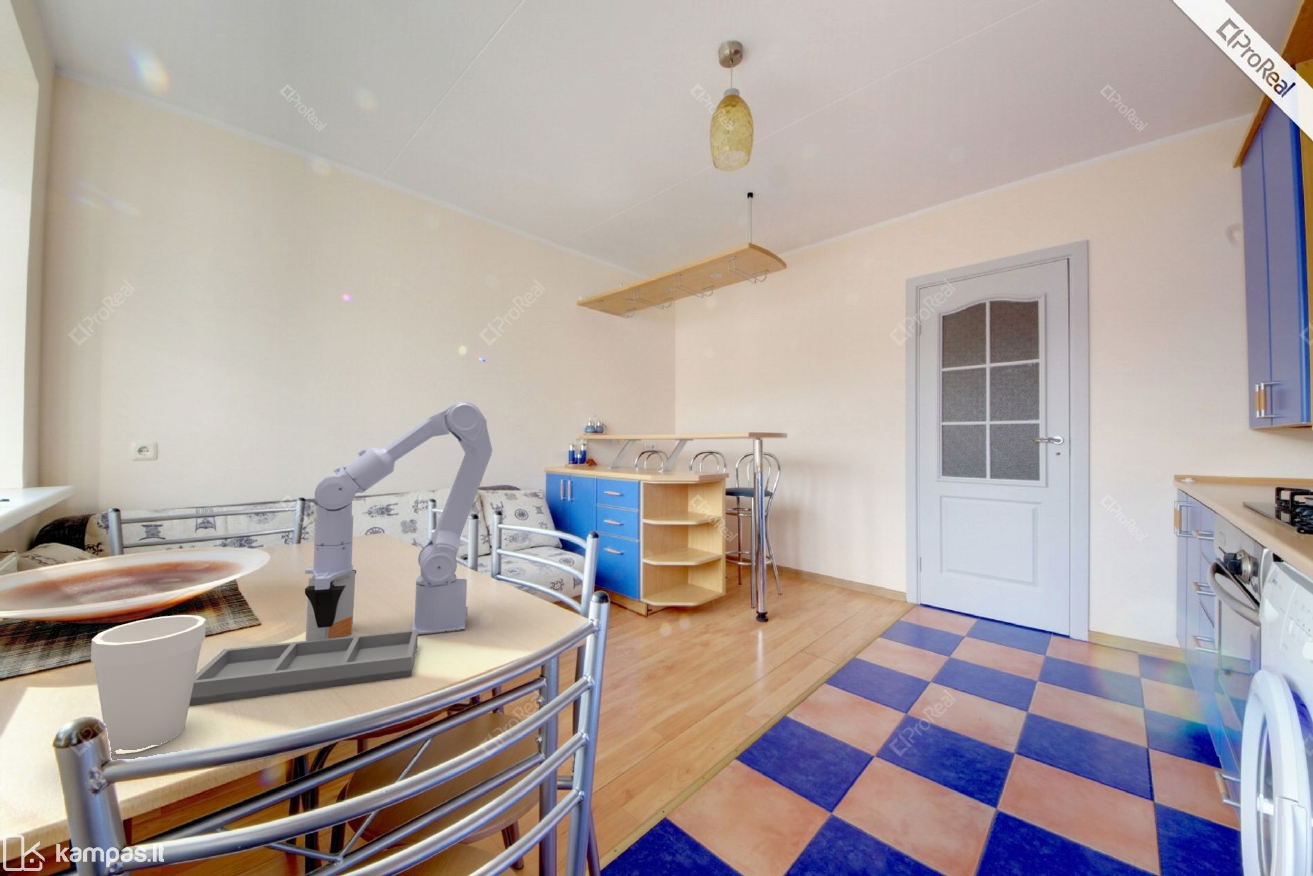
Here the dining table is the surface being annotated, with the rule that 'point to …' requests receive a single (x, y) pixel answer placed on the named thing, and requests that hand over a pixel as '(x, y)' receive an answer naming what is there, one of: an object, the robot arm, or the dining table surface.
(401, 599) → the dining table surface
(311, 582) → the skincare box
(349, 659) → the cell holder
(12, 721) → the dining table surface
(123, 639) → the foam cup
